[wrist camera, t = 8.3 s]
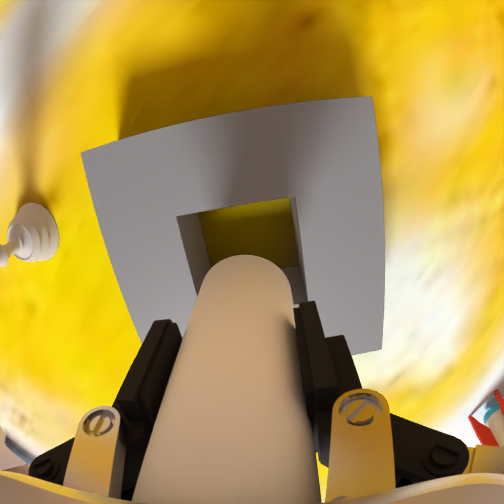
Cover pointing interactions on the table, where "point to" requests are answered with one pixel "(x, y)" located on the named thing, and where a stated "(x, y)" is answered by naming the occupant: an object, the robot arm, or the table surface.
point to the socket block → (244, 192)
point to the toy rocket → (491, 424)
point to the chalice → (31, 235)
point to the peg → (234, 399)
